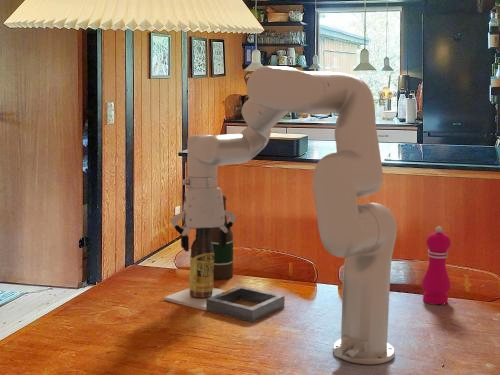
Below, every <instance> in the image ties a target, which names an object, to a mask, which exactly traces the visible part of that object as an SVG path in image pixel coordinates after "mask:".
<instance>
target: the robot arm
mask: <svg viewBox="0 0 500 375" xmlns="http://www.w3.org/2000/svg"><path fill="white" fill-rule="evenodd" d="M246 93H247V94H246V95H247V96H248V99H247V100H245V102H244V103H243V105H242V107H241V114H242V118H243V120H244V121H245V123H246V125H247V126H246V127H245V128H244V129H243V130H242V131H241V132H238V133H228V134H227V133H225V134H214V135H213V134H193V135H189V137H188V138H187V143H186V146H187V177H186V178H184V179H182V185H183V186H184V185H185V186H187V187H188V188H186V189H185V192H184V199H183V208H182V211H181V212H179V213H177V214H176V215H174V216H173V217H171V218H170V219H169V221H170V223H171V225H172V227H173V228H174V230H175V231H177V233H179V234H180V247H181V248H182V249H183V251H185V252H189V250H190V248H189V246H190V244H189V243H190V242H189V240H190V239H189V235H188V233H189V232H190V230H191V229H192V230H196V229H199V228H213V227H218V228H219V229H220V231H219V246H220V247H221V248H225V244H226V233H227V232H228V230H229V229H230V228H231V229H232V227H233V225H234V222H235V220H236V218H237V215H236V214H235V213H232V212H230V211H228V210H227V209H226V210H224V204H223V196H222V195H223V191H222V188H221V187H218V185H219V184H218V183H219V182H218V178H219V177H218V167H219V166H227V165H228V166H229V165H236V164H237V165H238V164H245V163H247V162H249V161H250V160H252V159H253V158H254V157H256V156H257V155H258V154H259V153H260V152H261V151H262V150H264V149H265V148H266V146H267V144H268V143H269V141H270V138H271V134H272V128H273V127H274V126H276V124H278V123H279V122H280V121H281V120H282V119H283V118H284V117H285V116H286V115H287V114H289V113H293V114H300V115H302V114H303V115H305V114H306V115H310V114H313V115H314V114H316V115H317V114H318V115H319V114H337V119H336V122H335V125H334V141H335V147H336V152H331V153H328V154H326V155H324V156H323V157H321V158H320V159H319V161H317V163H316V165H315V167H314V170H313V173H312V174H313V175H312V191H313V199H314V206H315V211H316V212H315V213H316V218H317V228H318V234H319V237H320V240H321V244H323V247H324V248H325V249H326V251H327V252H328V253H330V255H333V257H337V258H345V260H344V265H343V270H342V271H343V276H342V295H341V296H342V298H341V299H342V300H341V301H342V302H341V303H342V304H341V326H340V327H341V329H340V339H338V340H336V341H335V342H334V343H333V346H332V347H333V348H332V350H333V354H334V356H335V357H337V358H338V359H339V358H340V359H341V360H343V361H346V362H350V363H353V364H357V365H358V364H359V365H379V364H384V363H385V364H386V363H387V362H389V361H392V360H393V359H394V357H395V348H394V346H393V345H391V344H390V343H388V333H389V312H390V311H389V310H390V308H389V307H390V292H391V291H390V289H391V288H390V287H391V271H392V260H393V253H394V248H395V245H396V239H397V234H398V233H397V231H398V230H397V229H398V227H397V226H398V225H397V219H396V218H395V215H394V214H393V212H392V211H391V209H390V208H388V207H387V206H385V205H383V204H381V203H379V202H378V203H377V202H366V203H365V202H364V203H360V204H358V199H360V198H364V197H365V198H366V197H368V196H372V195H374V194H376V193H378V191H380V189H381V187H382V185H383V183H384V182H383V180H384V172H383V163H382V156H381V150H380V144H379V143H380V142H379V137H378V132H377V125H376V124H377V121H376V111H375V110H376V108H375V107H376V106H375V100H374V94H373V92H372V90H371V88H370V87H369V85H368V84H367V83H366V82H365V81H364V80H363V79H361V78H359V77H358V76H356V75H353V74H349V73H344V72H335V71H306V70H299V69H297V68H294V67H290V66H278V65H264V66H263V65H262V66H260V67H258V68H256V69H255V70H253V71H252V72H251V73H250V75H249V77H248V79H247V82H246ZM225 215H226V217H228V219H227V223H226V224H225V225H224V223H225ZM180 220H182V221H183V225H182V227H181V226H180V225H179V223H178V222H179V221H180Z"/></svg>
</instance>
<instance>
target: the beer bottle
mask: <svg viewBox="0 0 500 375" xmlns="http://www.w3.org/2000/svg"><path fill="white" fill-rule="evenodd" d="M222 196H223V204H224V210H226V211H227V207H226V205H227V203H226V202H227V201H226V200H227V197H226V195H223V194H222ZM227 221H228V219H227V216H226V215H225V223H224V225H225V224H226V223H227ZM219 231H220V229H219V228H218V227H213V228H210V239H211V242H212V244H213V250H214V275H213V280H215V279H216V280H217V281H222V280H221V279H224V280H229V279H230V278H232V277H233V275H234V234H233V230H232V227H231V228H230V229H229V230H228V232H227V233H226V244H225V248H221V247H220V246H219ZM216 280H215V281H216Z"/></svg>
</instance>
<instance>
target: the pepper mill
mask: <svg viewBox="0 0 500 375" xmlns="http://www.w3.org/2000/svg"><path fill="white" fill-rule="evenodd" d="M425 243H426V246H427V248H428V250H427V252H428V253H427V256H428V258H429V259H428V260H429V261H428V266H427V269H426V271H425V273H424V275H423V278H422V280H421V287H422V290H423V291H424V292H423V293H422V294H423V295H422V301H423V302H424V303H426V304H428V303H430V304H429V305H433V304H444V303H446V304H448V303H449V295H447V294H448V292H449V291H450V290H451V281H450V280H451V279H450V277H449V274H448V271H447V268H446V259H447V258H448V254H449V251H448V250H449V249H450V247H451V238H450V237H449V235H448V234H446V233H444V232H443V227H442V226H440V225H439V226H436V227H435V231H434V232H431V233H430V234H429V235H428V236H427V238H426V242H425ZM444 305H445V304H444Z"/></svg>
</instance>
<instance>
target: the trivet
mask: <svg viewBox="0 0 500 375" xmlns="http://www.w3.org/2000/svg"><path fill="white" fill-rule="evenodd" d="M224 291H226V290H224V289H221V288H215V287H213V290H212V296H210V297H213V296H215V295H218V294H220V293H222V292H224ZM210 297H207V298H194V297H192V296H190V289H189V287H188V288H186V289H182V290H180V291H177V292H174V293H171V294H168V295H166V296H164V297H163V298H164V301H166V302H171V303H175V304H179V305H184V306H186V307H189V308H194V309H199V310H201V311H202V310H203V311H206V299H208V298H210Z"/></svg>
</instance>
